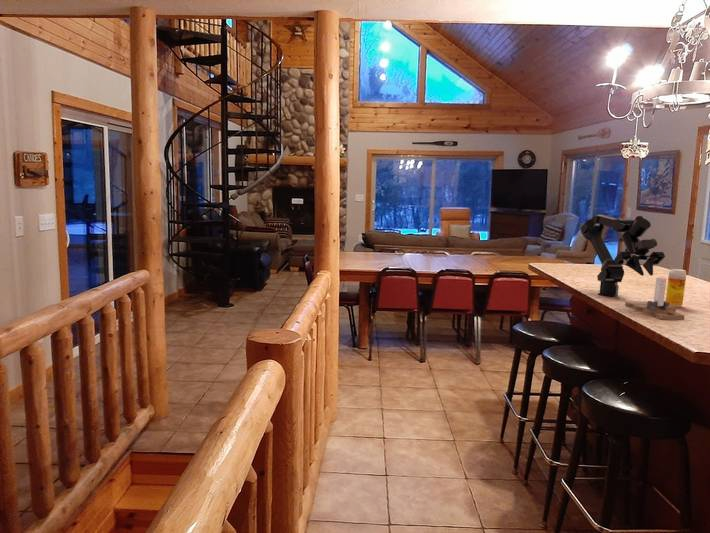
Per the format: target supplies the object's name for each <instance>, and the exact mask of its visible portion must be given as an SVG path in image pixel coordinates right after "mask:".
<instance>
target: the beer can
mask: <svg viewBox="0 0 710 533" xmlns="http://www.w3.org/2000/svg"><path fill="white" fill-rule="evenodd" d="M686 280H687V271H686V270H685V269H680V268H671V269H670V270H669V271H668V277H667V284H666V286H667V287H666V292H665V301H666V302H669V303H670V304H669V306H674V307H675V308H681V307H682V306H683V304H684V303H683V302H684V295H685V287H686Z"/></svg>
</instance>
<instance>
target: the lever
mask: <svg viewBox="0 0 710 533" xmlns="http://www.w3.org/2000/svg"><path fill="white" fill-rule="evenodd" d="M666 286H667V278H665V277H656V279H655V288H654V294H653V295H654V296H653V302H655V303H657V304H656V308H663V304H664V301H665V296H666V288H667V287H666Z"/></svg>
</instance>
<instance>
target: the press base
mask: <svg viewBox="0 0 710 533" xmlns="http://www.w3.org/2000/svg"><path fill="white" fill-rule="evenodd" d="M656 304H657V303H655V302H654V301H651V300H647V301H646V300H645V301H643V300H642V301H639V300H638V301H634V300H633V301H628V300H627V301H625V302H624V306H625V305H626V306H625V307H628V306H629V307H628V308H631V309H633V308H634V310H636V311H638V310H639V312H641V313H643V312H644V313H643V314H647V315H649V316H651V315H652V316H651V317H654V318H656V317H657V319H660V320H684V319H685V314H682V313H680V312H677V309H676V308H677V307H674V306H669V304H670V303H669V302H666V300H664V304H663V308H656Z"/></svg>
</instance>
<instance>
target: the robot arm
mask: <svg viewBox="0 0 710 533" xmlns="http://www.w3.org/2000/svg"><path fill="white" fill-rule="evenodd" d="M651 226H652V224H651V222H650V221H649V220H648V219H646V218H644V217H643V216H642V215H637V216H636V217H635V218H634V219H631V218H630V219H629V218H628V219H627V218H616V217H612V216H609V215H608V216H607V215H605V214H594V215H593V216H592V218H590V219H588V220H586V221H585V222H584V223H583V225H582V226H581V227H580V233H581V235H582V236H583V237H584V239H586V240H587V241H589V242H590V243H591V245H592V247H593V249H594V251H595V254H596V255H597V257H598V259H599V261H600V263H601V268H600V272H599V273H598V274H597V281H599V282H600V284H599V286H600V287H599V292H598V293H597V295H600V296H605V297H611V298H613V297H617V296H618V295H619V285H618V284H619V283H622V281H623V278H624V276H625V269H624V266H626V267H628V268H630V269H631V270H633V271H635V272H636V273H637V274H639V275H640V276H644V274H645V273H644V270H643V268H644V269H645V271H647V273H648V275H650V277H653V276H654V265H656V266H657V265H659V264H660V263H661V262H662V261H663V260H664V259H665V257H666V255H665V253H664V251H652V252H651V253H650V254H648V253H649V252H650V250H651V249H655V247H658V242H657V240H656V239H655V238H651V239H641V240H640V237H643V236H644V235H645V233H646V232H647V231H648V230H649V229H650V228H651ZM605 227H608V228H611V229H612V231H614V232H616V233H622V235H620V238H619V239H618V241H619V243H622V242H623V244H624V246H625V250H624V251H619V252H618V254H616V256H615V258H613V255H611V253H610V251H609V248H608V246H606V244H605V241H604V239H603V238H602V235H603V231H604V229H605ZM625 261H626V263H625ZM640 261H643V264H642V266H643V268H642V266H641V263H640ZM624 263H625V264H624ZM623 265H624V266H623Z"/></svg>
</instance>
